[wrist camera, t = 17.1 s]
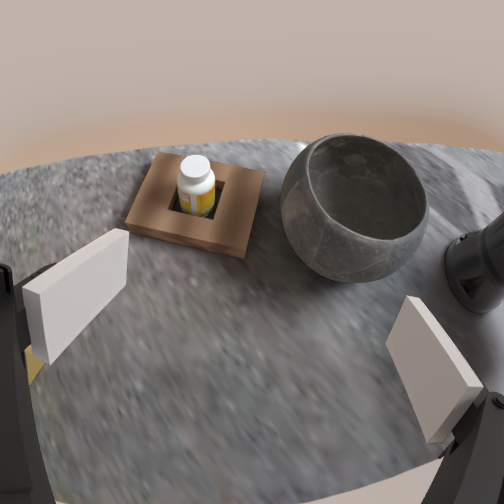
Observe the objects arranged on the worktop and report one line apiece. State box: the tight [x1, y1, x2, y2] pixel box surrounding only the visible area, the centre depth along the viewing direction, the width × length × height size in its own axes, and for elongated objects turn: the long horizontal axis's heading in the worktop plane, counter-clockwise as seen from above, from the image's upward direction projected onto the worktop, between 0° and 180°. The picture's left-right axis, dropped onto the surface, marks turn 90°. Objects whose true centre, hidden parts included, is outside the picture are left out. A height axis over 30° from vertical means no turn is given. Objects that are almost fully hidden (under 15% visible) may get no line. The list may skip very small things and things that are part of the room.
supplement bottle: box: [177, 155, 215, 218], centre depth 46 cm, size 5×5×10 cm
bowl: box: [280, 133, 429, 283], centre depth 44 cm, size 20×20×15 cm
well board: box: [125, 152, 265, 259], centre depth 49 cm, size 18×14×3 cm
